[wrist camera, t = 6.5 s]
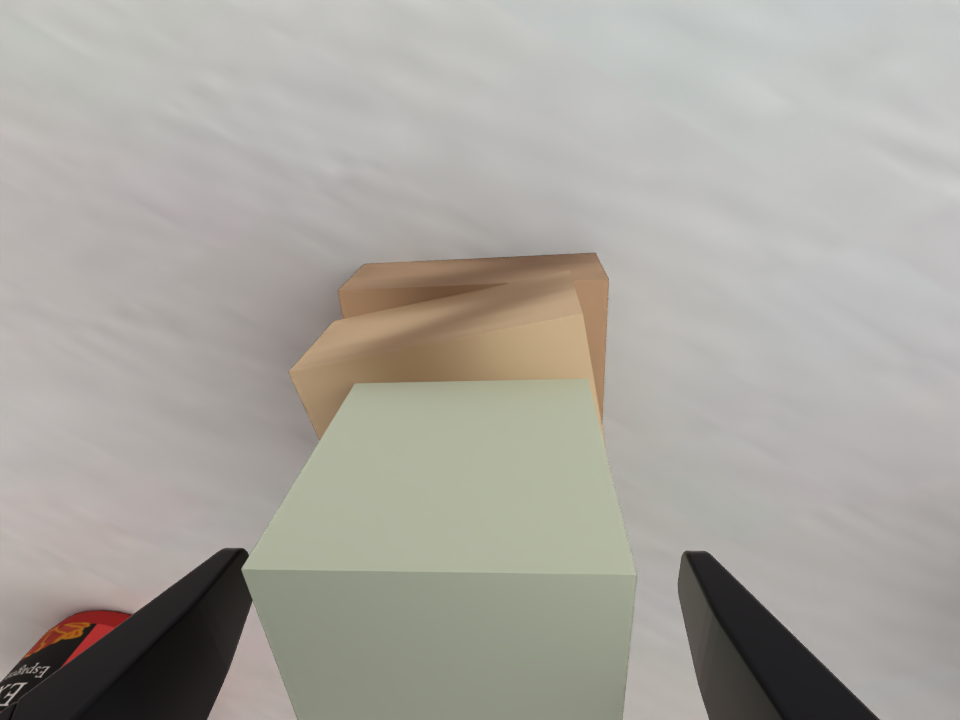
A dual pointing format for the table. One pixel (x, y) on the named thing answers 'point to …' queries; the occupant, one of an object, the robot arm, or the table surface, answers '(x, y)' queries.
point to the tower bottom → (445, 278)
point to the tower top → (451, 344)
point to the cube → (451, 559)
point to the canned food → (57, 651)
